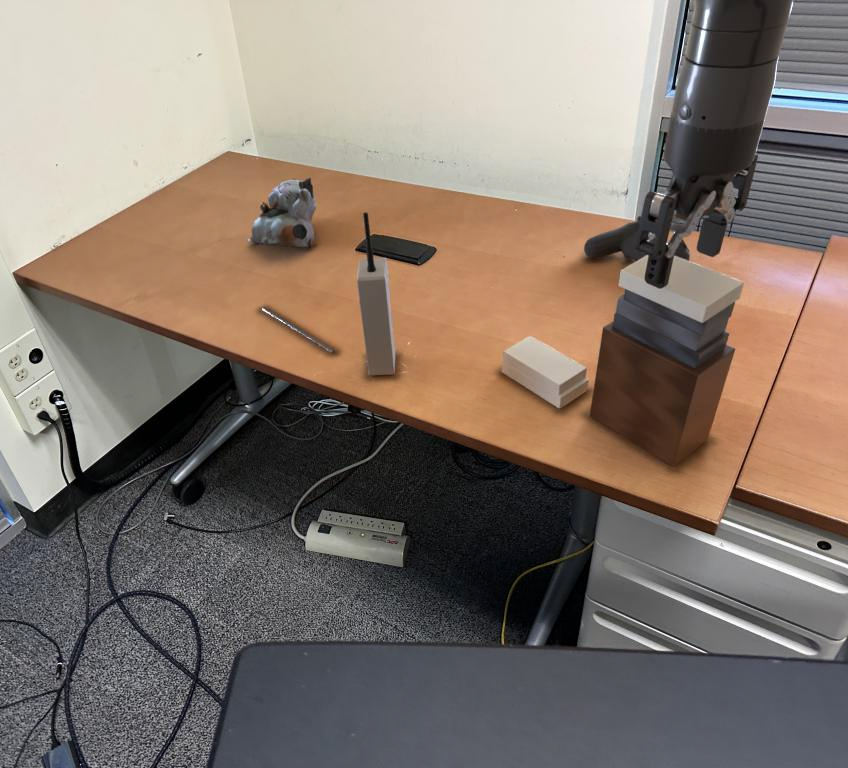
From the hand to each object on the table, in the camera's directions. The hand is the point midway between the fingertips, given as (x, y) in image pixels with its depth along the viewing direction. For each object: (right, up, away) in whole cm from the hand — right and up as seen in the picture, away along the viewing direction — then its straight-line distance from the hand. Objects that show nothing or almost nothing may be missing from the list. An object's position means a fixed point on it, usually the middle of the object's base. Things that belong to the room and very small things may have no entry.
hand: (682, 268), depth 71 cm
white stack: (-7, -12, +24) cm, 27 cm away
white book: (0, -2, +2) cm, 3 cm away
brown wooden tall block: (+3, -17, +15) cm, 23 cm away
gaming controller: (+14, +7, +42) cm, 45 cm away
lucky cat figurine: (-46, +16, +65) cm, 81 cm away
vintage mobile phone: (-29, -9, +31) cm, 43 cm away
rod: (-42, -3, +41) cm, 59 cm away
